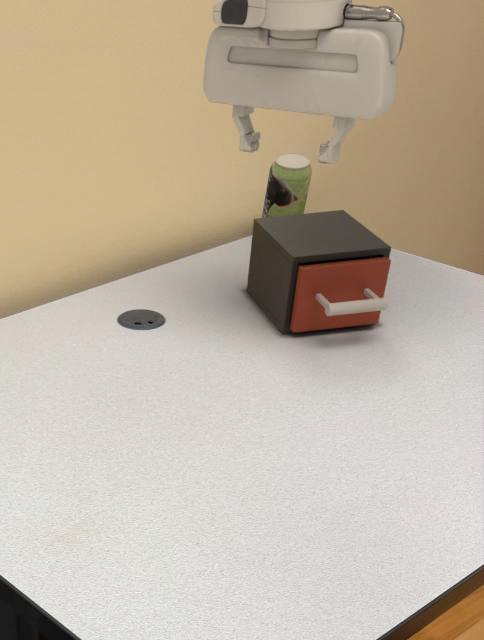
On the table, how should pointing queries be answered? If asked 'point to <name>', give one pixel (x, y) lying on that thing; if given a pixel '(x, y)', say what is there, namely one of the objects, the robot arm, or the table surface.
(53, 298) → the table surface
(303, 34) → the robot arm
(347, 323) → the drawer
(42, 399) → the table surface
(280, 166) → the beverage can
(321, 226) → the cabinet
